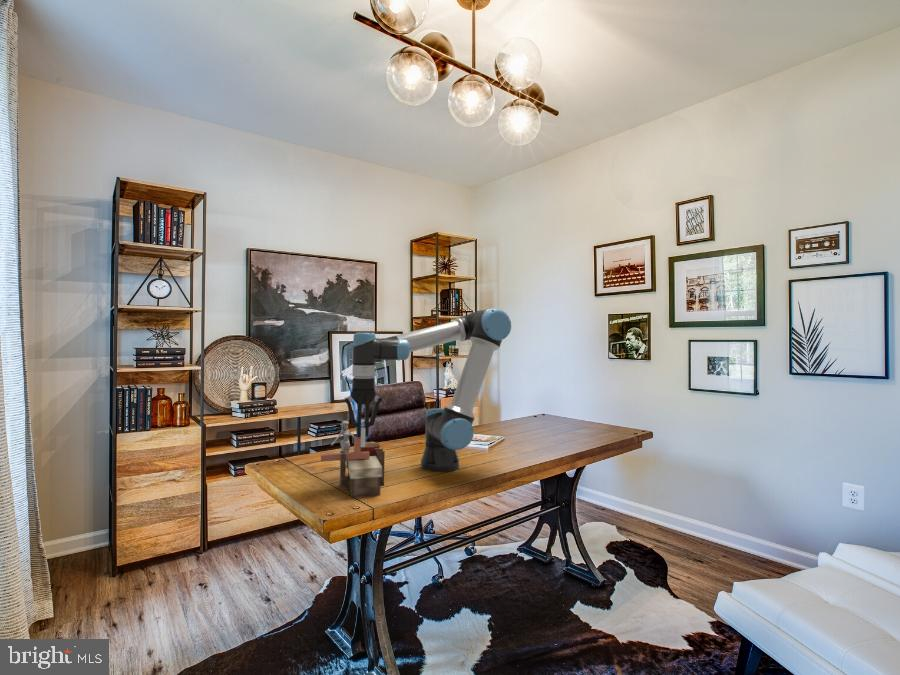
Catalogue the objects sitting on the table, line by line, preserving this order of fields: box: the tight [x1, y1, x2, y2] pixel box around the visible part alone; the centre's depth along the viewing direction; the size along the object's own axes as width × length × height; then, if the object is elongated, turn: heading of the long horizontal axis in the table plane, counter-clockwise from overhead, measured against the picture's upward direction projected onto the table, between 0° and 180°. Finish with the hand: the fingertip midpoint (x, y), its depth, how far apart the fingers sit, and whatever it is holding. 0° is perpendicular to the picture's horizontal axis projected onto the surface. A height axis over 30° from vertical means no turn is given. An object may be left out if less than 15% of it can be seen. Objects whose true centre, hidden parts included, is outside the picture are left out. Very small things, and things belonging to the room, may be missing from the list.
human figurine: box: [330, 420, 356, 468], centre depth 182 cm, size 12×4×18 cm, turn 133°
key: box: [320, 436, 370, 463], centre depth 158 cm, size 16×2×7 cm, turn 107°
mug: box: [361, 441, 381, 459], centre depth 175 cm, size 12×9×10 cm
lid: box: [346, 456, 382, 479], centre depth 156 cm, size 10×15×3 cm, turn 17°
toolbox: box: [339, 448, 386, 498], centre depth 156 cm, size 14×14×12 cm
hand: (362, 446), depth 160 cm, fingers closed
